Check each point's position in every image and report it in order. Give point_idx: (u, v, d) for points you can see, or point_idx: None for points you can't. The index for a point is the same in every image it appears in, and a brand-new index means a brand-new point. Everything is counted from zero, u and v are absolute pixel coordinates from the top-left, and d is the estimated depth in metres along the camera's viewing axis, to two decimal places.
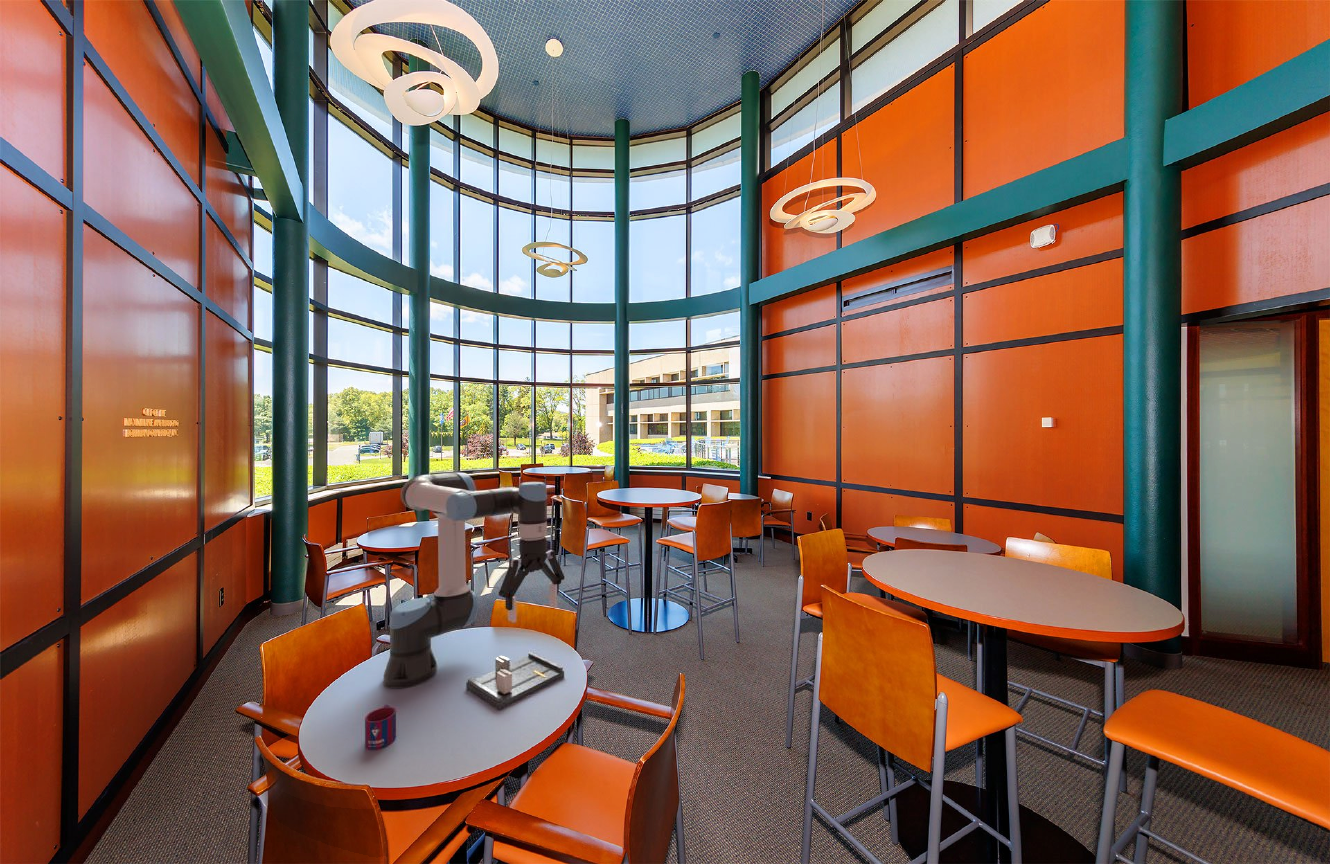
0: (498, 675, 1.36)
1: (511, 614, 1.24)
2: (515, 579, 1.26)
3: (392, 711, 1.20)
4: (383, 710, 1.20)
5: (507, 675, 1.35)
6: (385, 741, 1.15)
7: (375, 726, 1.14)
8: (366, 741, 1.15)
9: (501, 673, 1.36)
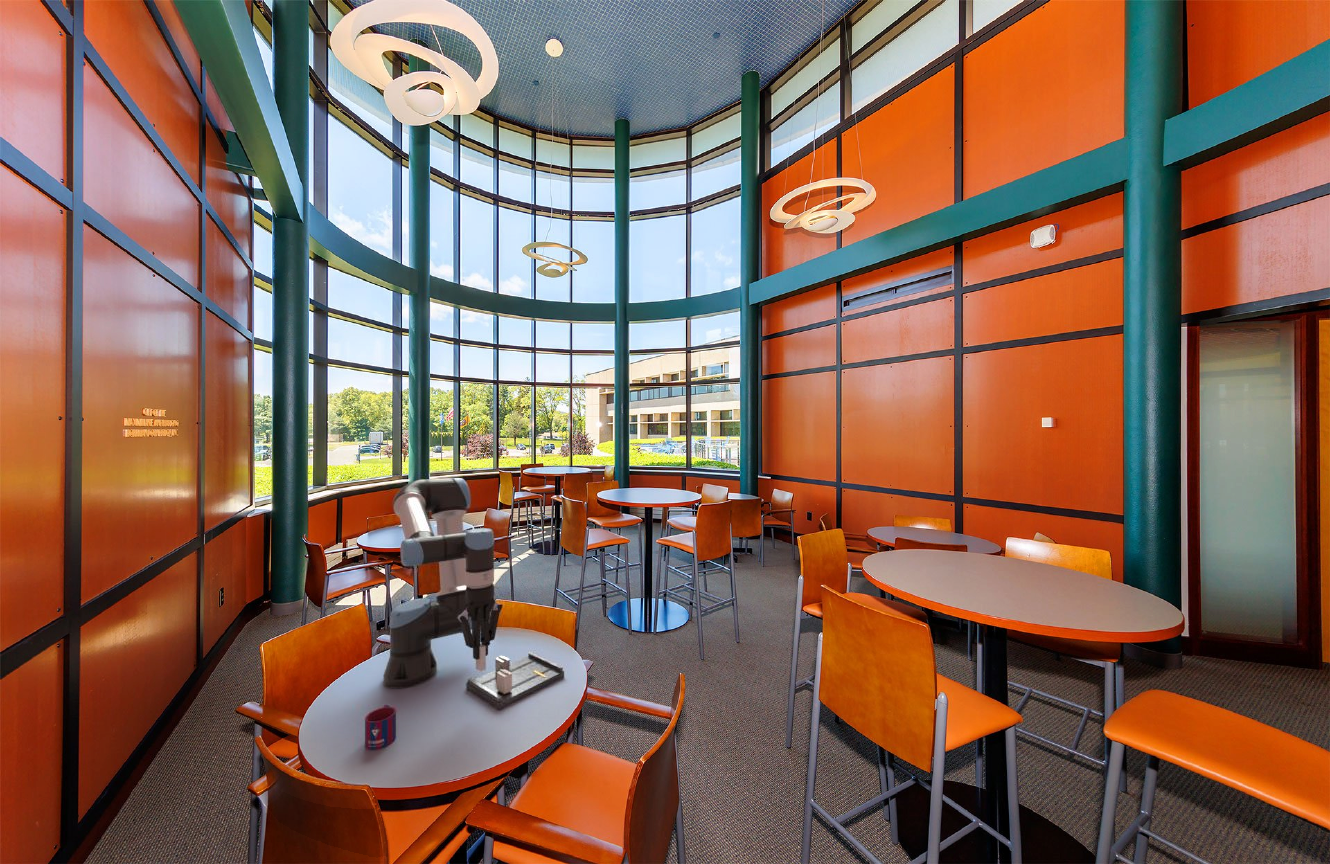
0: (498, 675, 1.36)
1: (478, 663, 1.30)
2: (473, 630, 1.29)
3: (392, 711, 1.20)
4: (383, 710, 1.20)
5: (507, 675, 1.35)
6: (385, 741, 1.15)
7: (375, 726, 1.14)
8: (366, 741, 1.15)
9: (501, 673, 1.36)
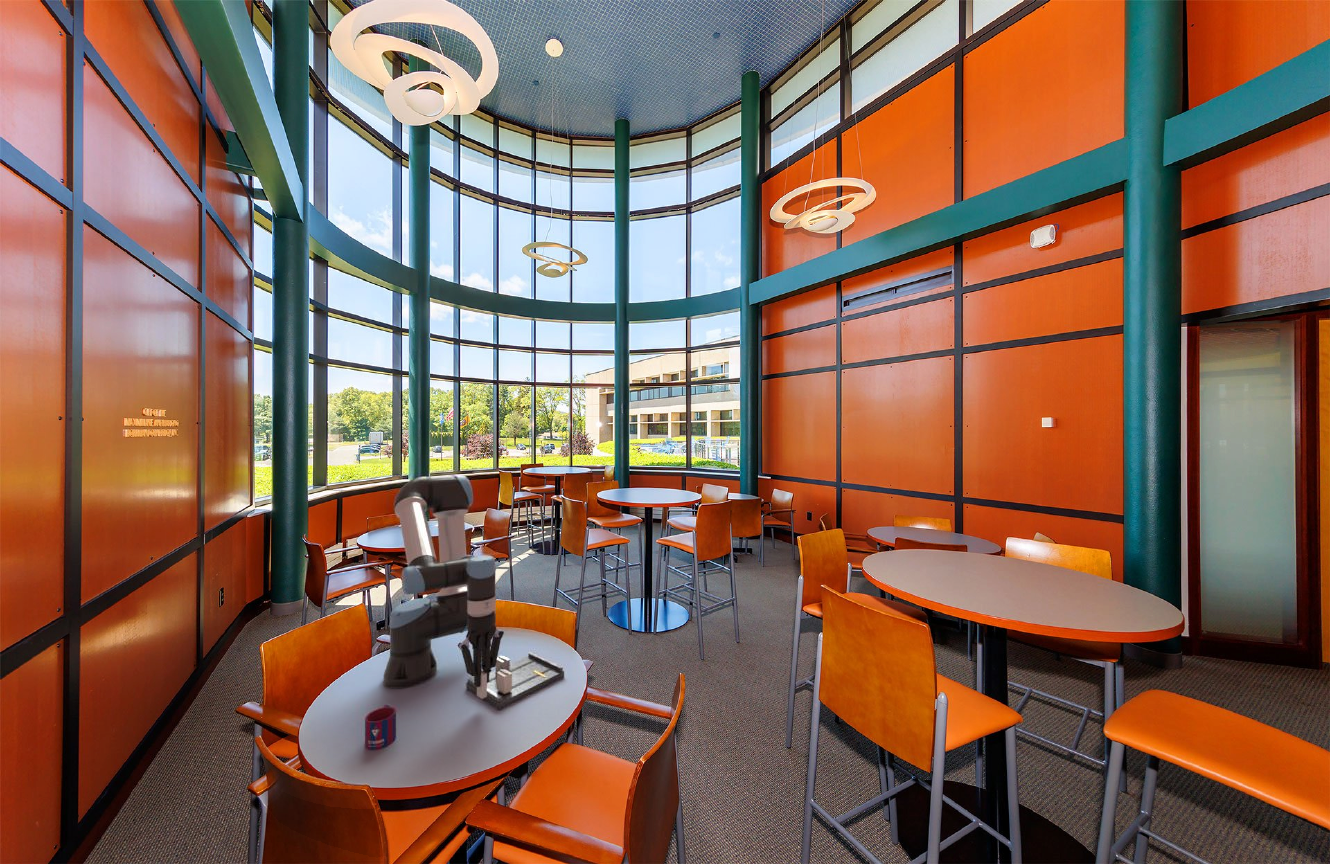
0: (498, 675, 1.36)
1: (479, 690, 1.30)
2: (474, 657, 1.30)
3: (392, 711, 1.20)
4: (383, 710, 1.20)
5: (507, 675, 1.35)
6: (385, 741, 1.15)
7: (375, 726, 1.14)
8: (366, 741, 1.15)
9: (501, 673, 1.36)
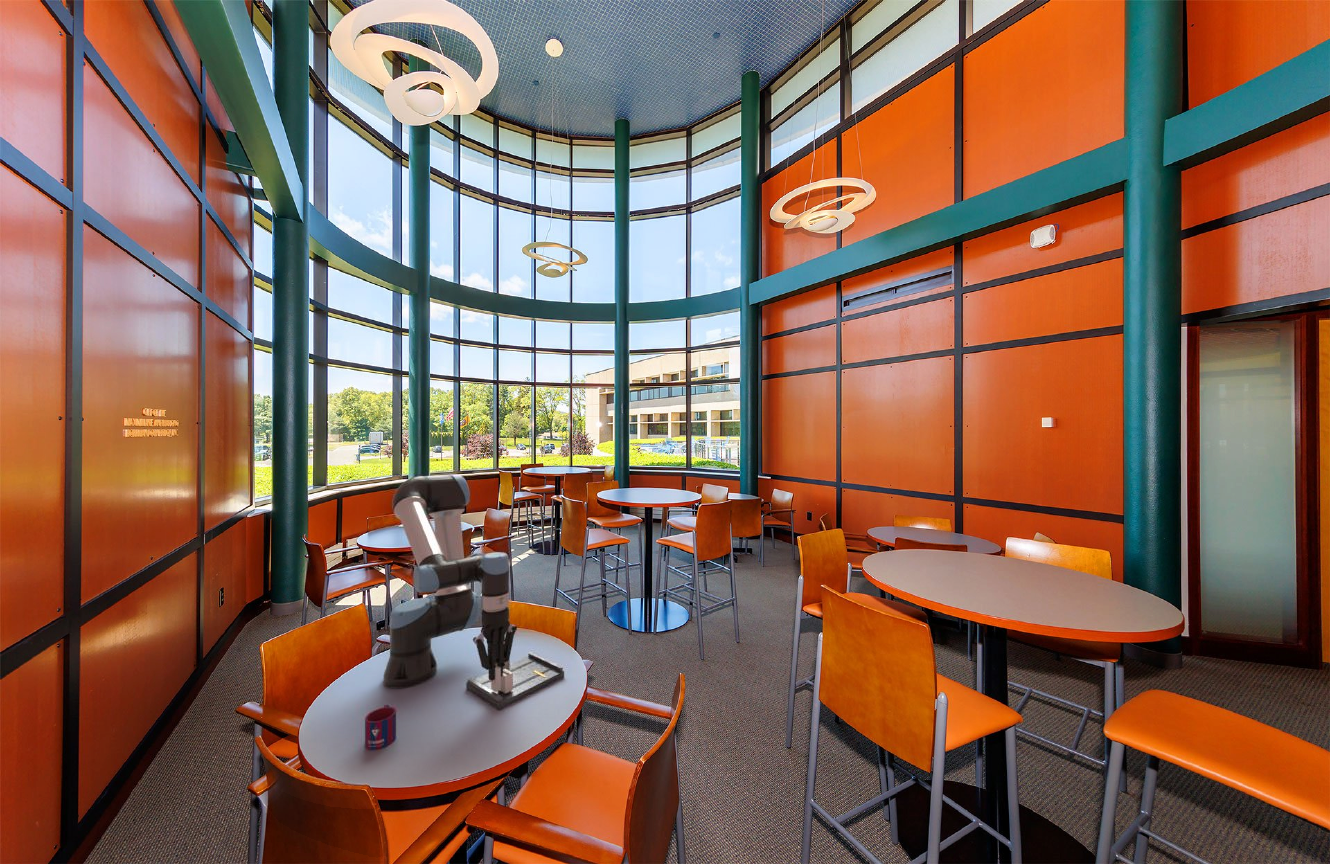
0: None
1: (494, 684, 1.34)
2: (489, 651, 1.33)
3: (392, 711, 1.20)
4: (383, 710, 1.20)
5: (508, 675, 1.35)
6: (385, 741, 1.15)
7: (375, 726, 1.14)
8: (366, 741, 1.15)
9: None
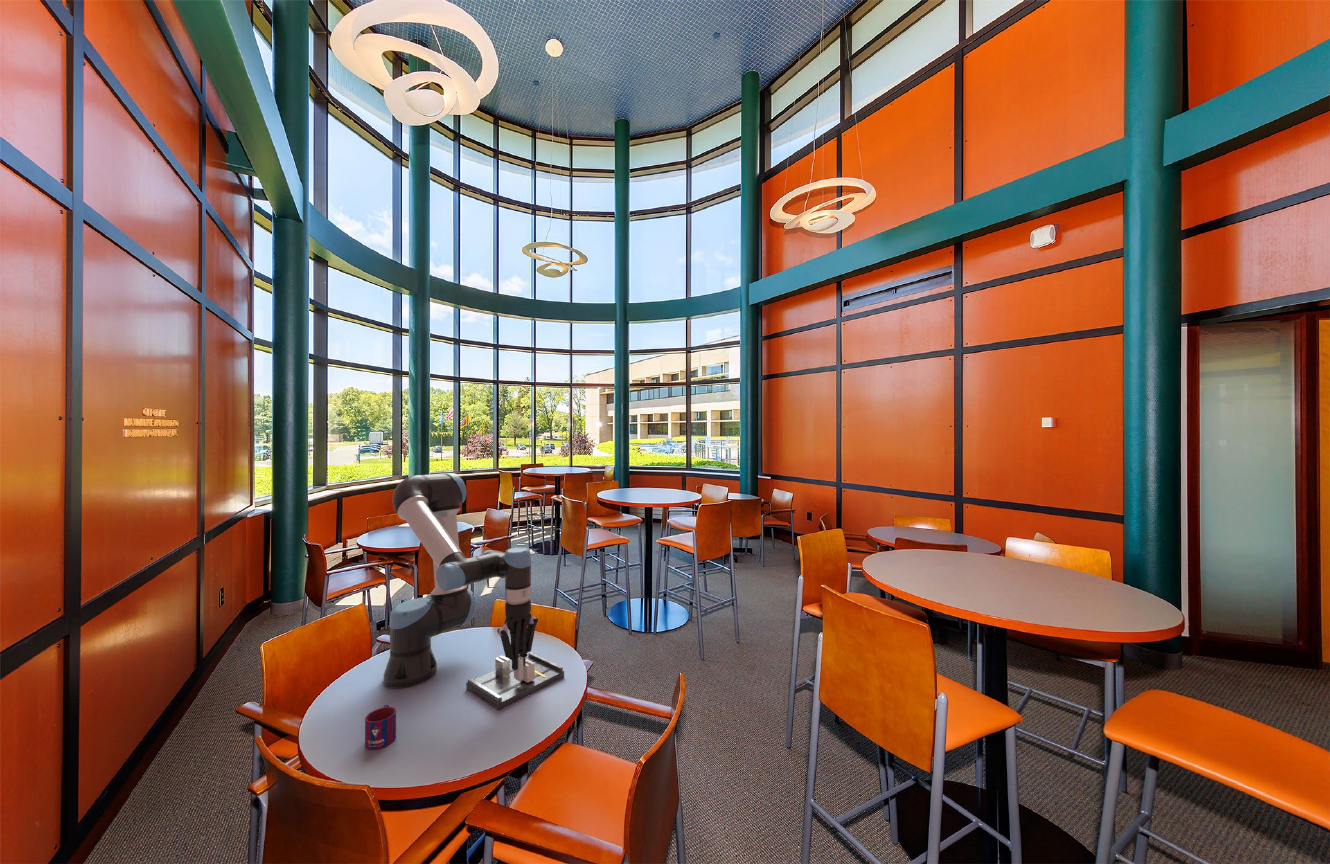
0: None
1: (517, 673, 1.39)
2: (512, 642, 1.39)
3: (392, 711, 1.20)
4: (383, 710, 1.20)
5: (530, 665, 1.41)
6: (385, 741, 1.15)
7: (375, 726, 1.14)
8: (366, 741, 1.15)
9: None
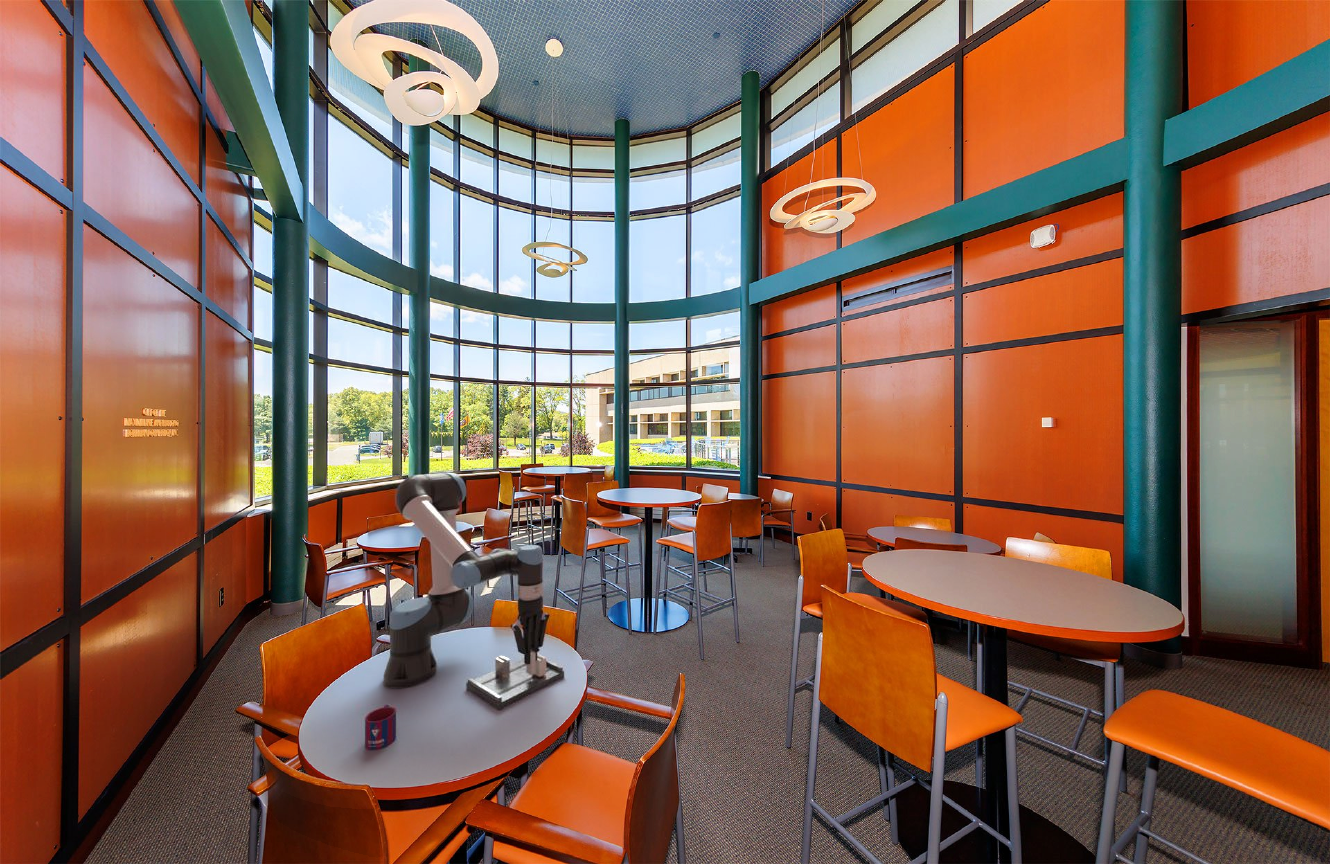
0: None
1: (529, 667, 1.43)
2: (524, 637, 1.42)
3: (392, 711, 1.20)
4: (383, 710, 1.20)
5: (542, 659, 1.45)
6: (385, 741, 1.15)
7: (375, 726, 1.14)
8: (366, 741, 1.15)
9: None
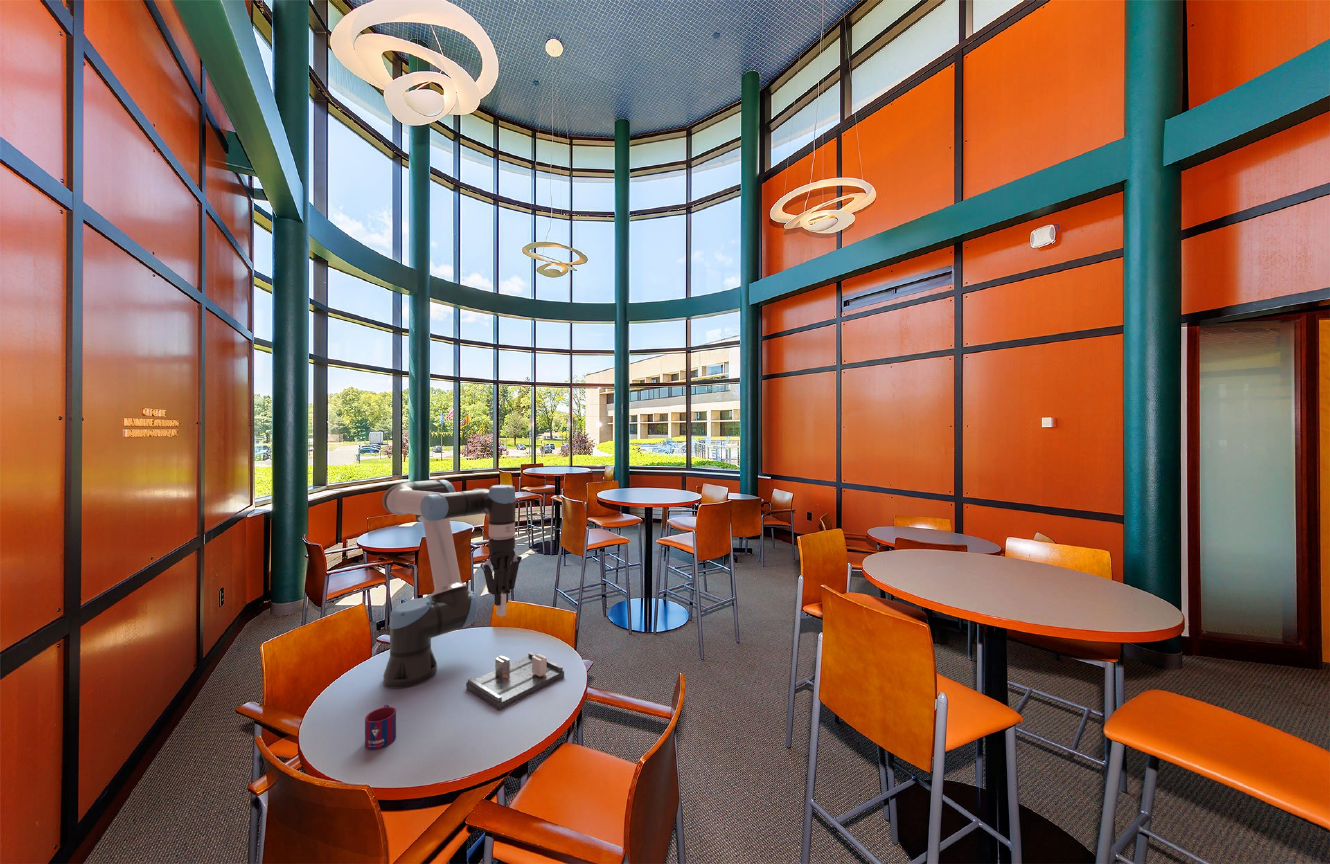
0: (534, 659, 1.46)
1: (499, 609, 1.39)
2: (495, 578, 1.38)
3: (392, 711, 1.20)
4: (383, 710, 1.20)
5: (542, 659, 1.45)
6: (385, 741, 1.15)
7: (375, 726, 1.14)
8: (366, 741, 1.15)
9: (536, 657, 1.46)
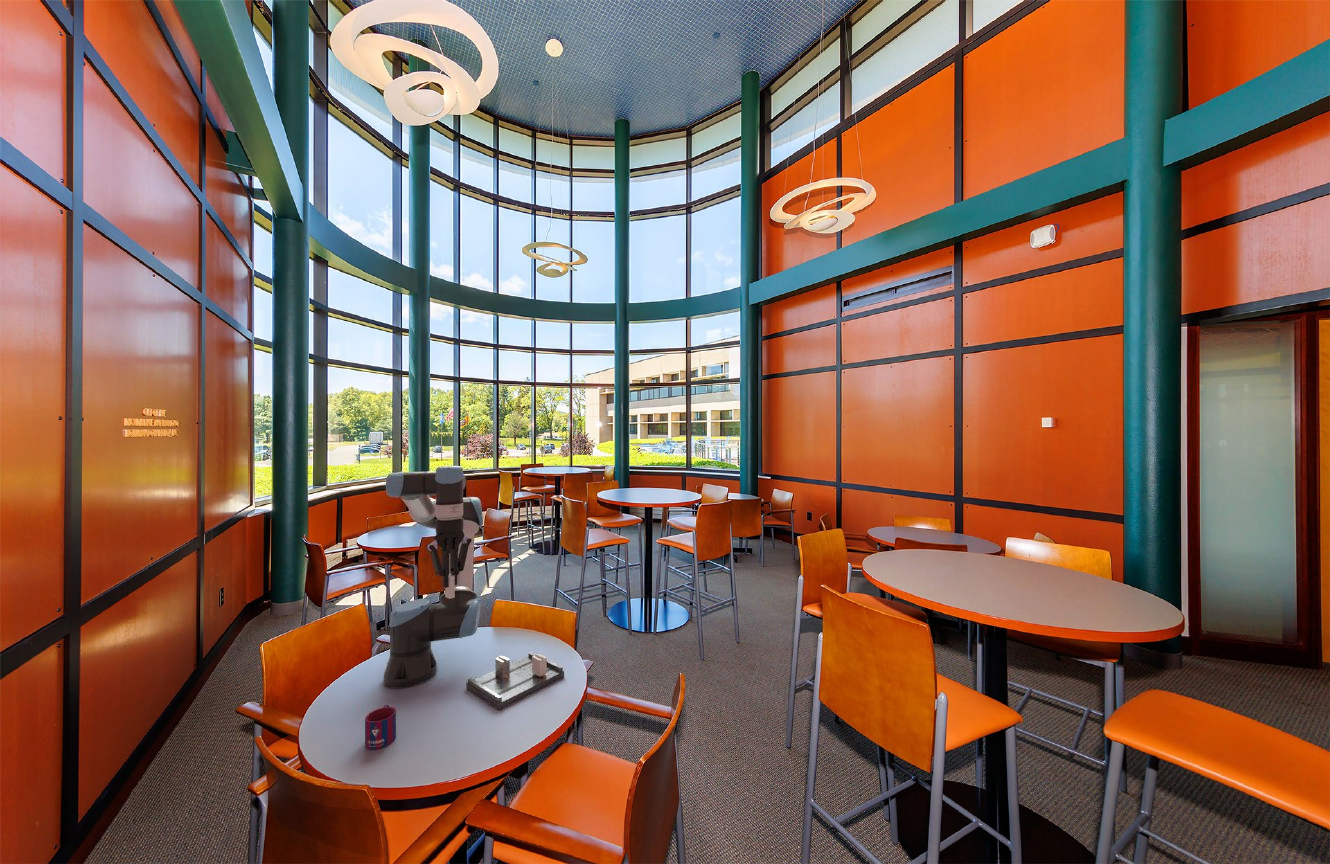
0: (534, 659, 1.46)
1: (447, 591, 1.37)
2: (442, 560, 1.37)
3: (392, 711, 1.20)
4: (383, 710, 1.20)
5: (542, 659, 1.45)
6: (385, 741, 1.15)
7: (375, 726, 1.14)
8: (366, 741, 1.15)
9: (536, 657, 1.46)
